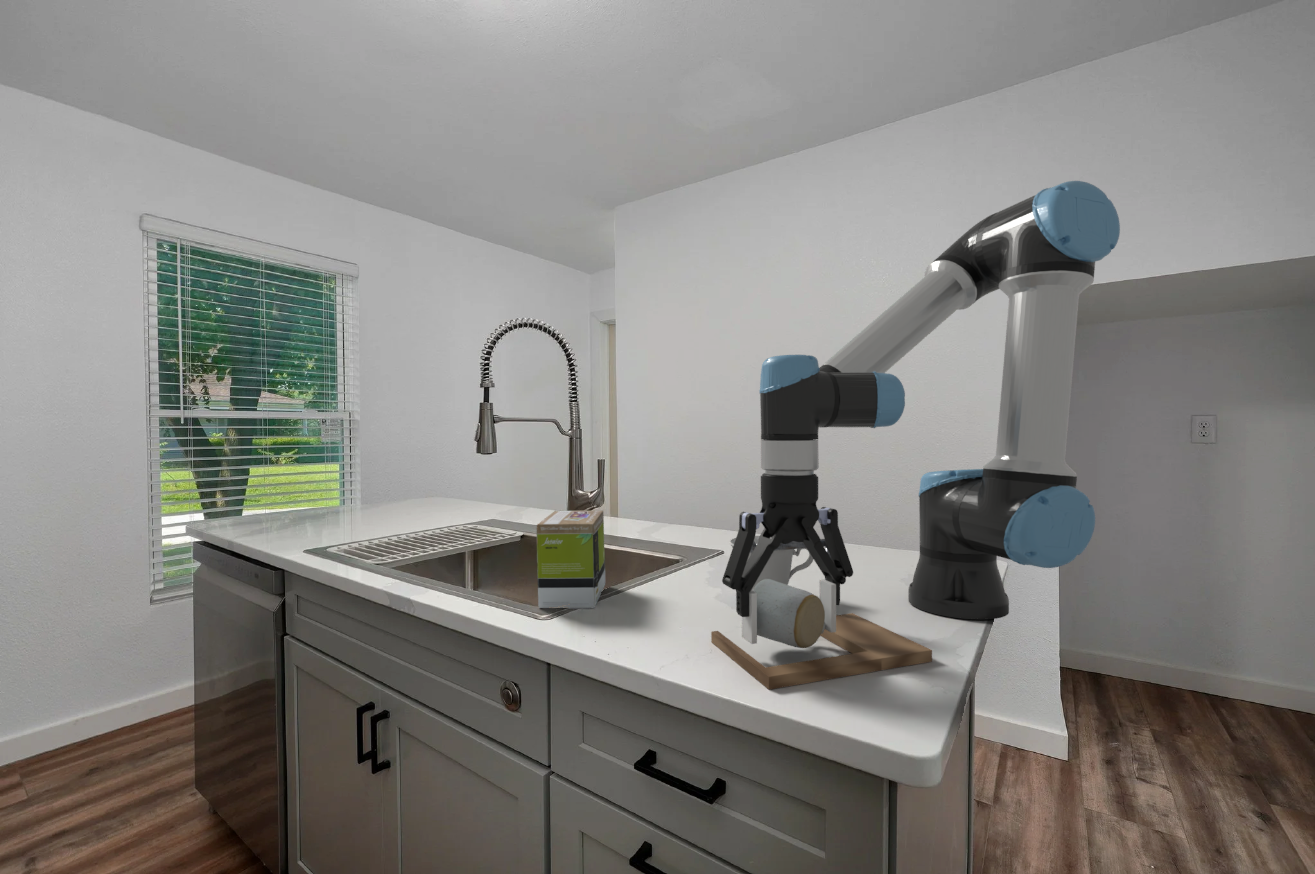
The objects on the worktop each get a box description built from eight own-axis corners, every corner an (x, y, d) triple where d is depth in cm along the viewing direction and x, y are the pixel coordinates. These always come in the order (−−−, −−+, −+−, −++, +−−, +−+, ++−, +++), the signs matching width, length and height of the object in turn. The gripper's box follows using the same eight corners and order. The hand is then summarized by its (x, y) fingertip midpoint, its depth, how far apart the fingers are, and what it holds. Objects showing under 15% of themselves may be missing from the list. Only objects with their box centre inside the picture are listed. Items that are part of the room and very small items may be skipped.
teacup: (820, 609, 98) (820, 549, 98) (730, 607, 99) (730, 548, 99) (808, 589, 110) (808, 536, 110) (728, 587, 111) (728, 535, 111)
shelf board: (852, 622, 91) (852, 613, 91) (931, 661, 76) (932, 650, 76) (711, 642, 83) (711, 631, 83) (768, 689, 68) (768, 676, 68)
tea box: (554, 585, 113) (554, 509, 113) (606, 585, 113) (605, 509, 113) (536, 609, 98) (535, 521, 98) (595, 609, 98) (595, 522, 98)
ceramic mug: (798, 658, 72) (799, 595, 72) (744, 640, 78) (745, 583, 78) (840, 637, 80) (840, 581, 80) (788, 623, 85) (788, 570, 85)
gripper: (845, 467, 86) (845, 616, 86) (696, 472, 78) (697, 636, 78) (881, 471, 79) (881, 632, 79) (720, 477, 71) (721, 656, 71)
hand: (789, 634), depth 79 cm, fingers closed on ceramic mug, 11 cm apart
